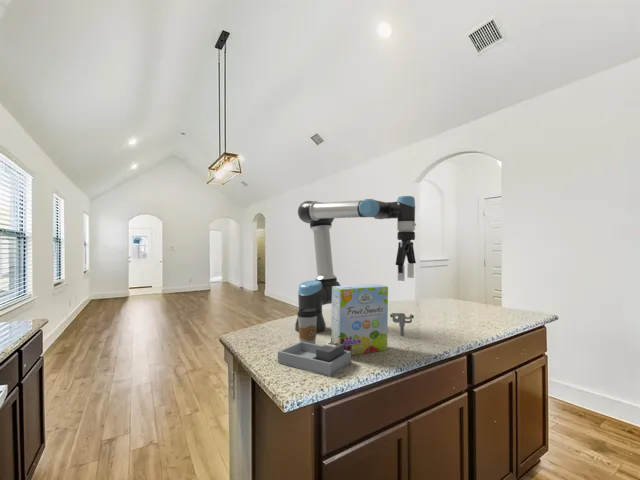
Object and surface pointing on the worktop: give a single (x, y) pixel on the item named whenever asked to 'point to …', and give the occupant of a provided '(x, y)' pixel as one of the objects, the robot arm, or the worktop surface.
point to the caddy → (311, 359)
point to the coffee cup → (307, 325)
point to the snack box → (360, 317)
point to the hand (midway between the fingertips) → (406, 279)
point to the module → (330, 352)
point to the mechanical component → (401, 320)
